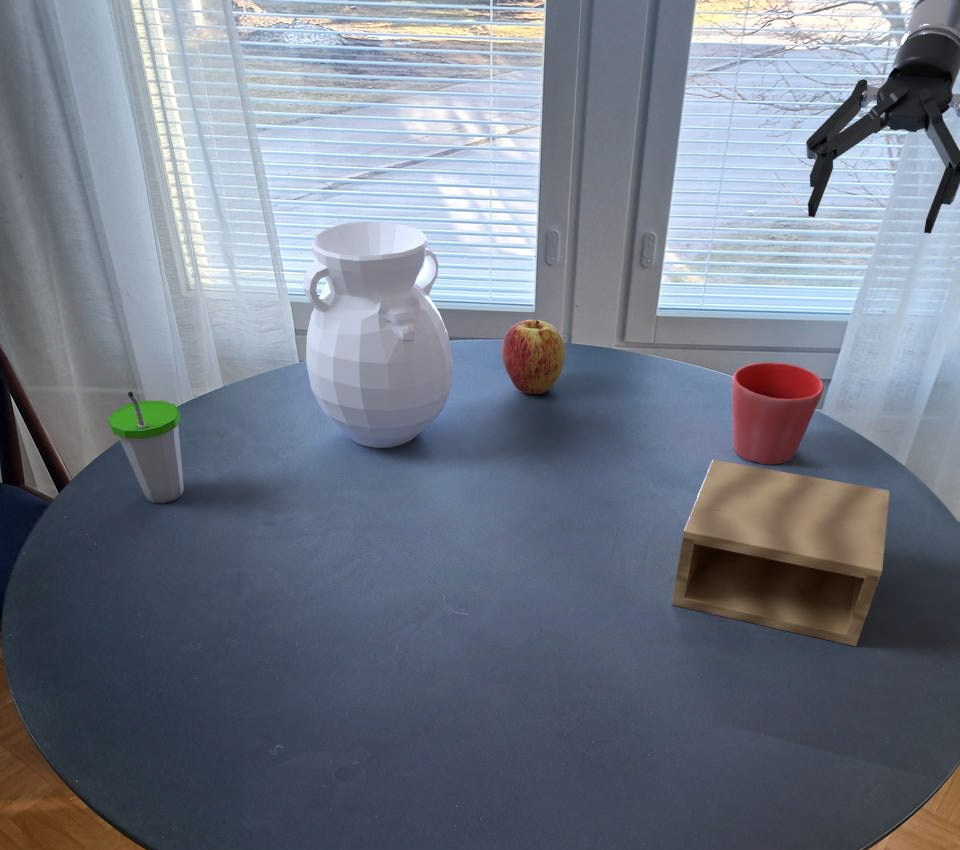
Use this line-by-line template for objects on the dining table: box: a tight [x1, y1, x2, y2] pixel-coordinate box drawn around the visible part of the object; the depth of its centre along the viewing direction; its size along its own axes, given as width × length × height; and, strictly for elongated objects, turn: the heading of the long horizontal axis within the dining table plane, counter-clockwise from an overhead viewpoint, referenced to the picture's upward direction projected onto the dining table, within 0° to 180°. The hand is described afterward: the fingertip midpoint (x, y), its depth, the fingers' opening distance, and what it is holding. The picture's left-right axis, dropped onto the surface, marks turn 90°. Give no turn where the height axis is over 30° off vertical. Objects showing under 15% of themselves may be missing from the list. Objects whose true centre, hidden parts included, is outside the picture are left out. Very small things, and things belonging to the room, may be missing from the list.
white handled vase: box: [302, 221, 454, 449], centre depth 113 cm, size 19×18×25 cm
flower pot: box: [731, 361, 825, 465], centre depth 114 cm, size 11×11×10 cm
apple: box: [501, 319, 566, 395], centre depth 128 cm, size 9×9×10 cm
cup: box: [107, 391, 185, 504], centre depth 104 cm, size 8×8×15 cm
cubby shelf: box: [671, 459, 891, 647], centre depth 92 cm, size 18×15×9 cm
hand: (868, 218), depth 108 cm, fingers open, 13 cm apart
